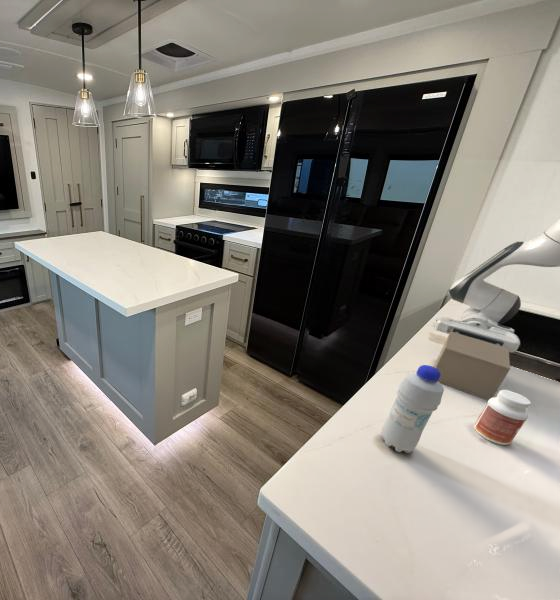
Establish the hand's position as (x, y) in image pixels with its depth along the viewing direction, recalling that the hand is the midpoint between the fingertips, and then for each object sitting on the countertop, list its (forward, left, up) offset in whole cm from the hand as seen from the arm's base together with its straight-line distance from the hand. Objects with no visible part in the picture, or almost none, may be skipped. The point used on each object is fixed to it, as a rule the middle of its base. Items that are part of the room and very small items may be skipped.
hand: (473, 341), depth 99 cm
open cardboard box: (+7, +15, -6) cm, 18 cm away
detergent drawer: (+3, +6, -5) cm, 9 cm away
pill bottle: (+11, +39, -6) cm, 41 cm away
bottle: (+33, +51, -6) cm, 61 cm away
